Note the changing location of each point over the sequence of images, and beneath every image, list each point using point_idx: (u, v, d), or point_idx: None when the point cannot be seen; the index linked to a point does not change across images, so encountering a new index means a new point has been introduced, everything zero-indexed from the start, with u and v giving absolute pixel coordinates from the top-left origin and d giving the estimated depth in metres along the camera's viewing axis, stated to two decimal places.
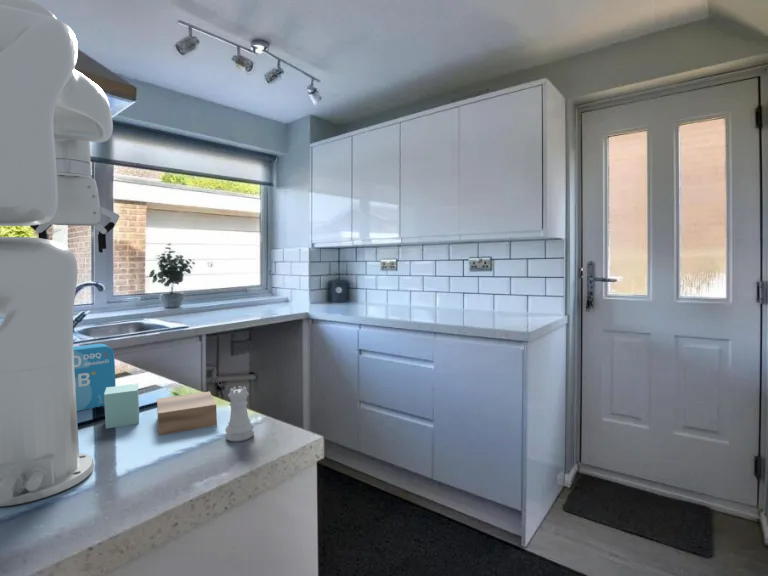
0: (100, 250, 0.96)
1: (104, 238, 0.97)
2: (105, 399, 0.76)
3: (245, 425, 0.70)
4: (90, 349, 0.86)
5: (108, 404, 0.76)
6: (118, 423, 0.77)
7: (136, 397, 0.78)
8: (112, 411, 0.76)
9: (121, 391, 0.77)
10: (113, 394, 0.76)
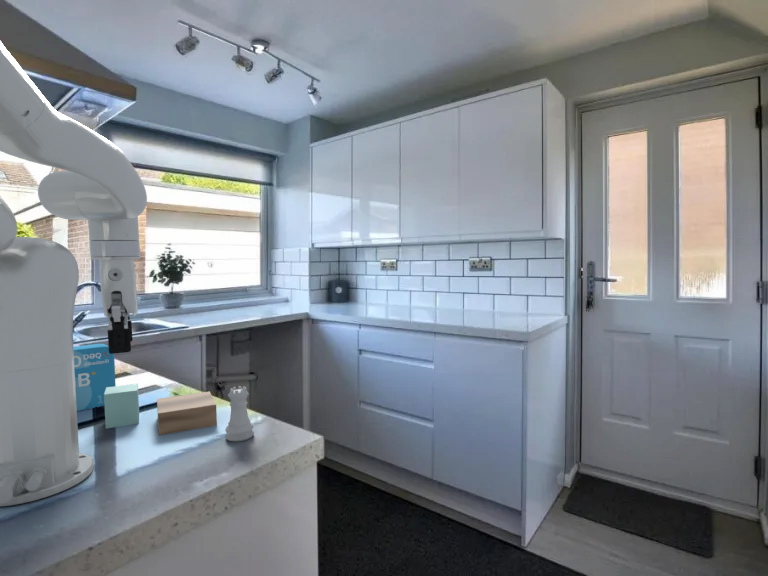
0: None
1: None
2: (105, 399, 0.76)
3: (245, 425, 0.70)
4: (90, 349, 0.86)
5: (108, 404, 0.76)
6: (118, 423, 0.77)
7: (136, 397, 0.78)
8: (112, 411, 0.76)
9: (121, 391, 0.77)
10: (113, 394, 0.76)
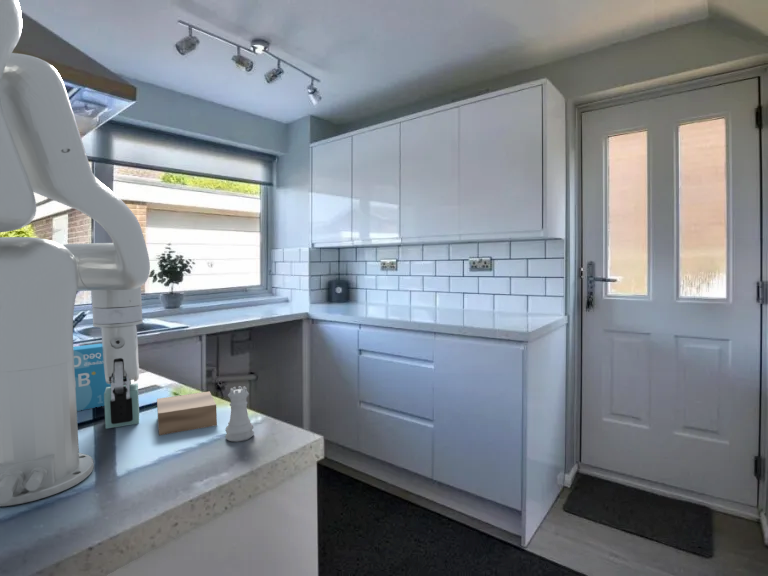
0: None
1: None
2: (105, 399, 0.76)
3: (245, 425, 0.70)
4: (90, 349, 0.86)
5: (108, 404, 0.76)
6: (118, 423, 0.77)
7: (136, 397, 0.78)
8: None
9: None
10: None
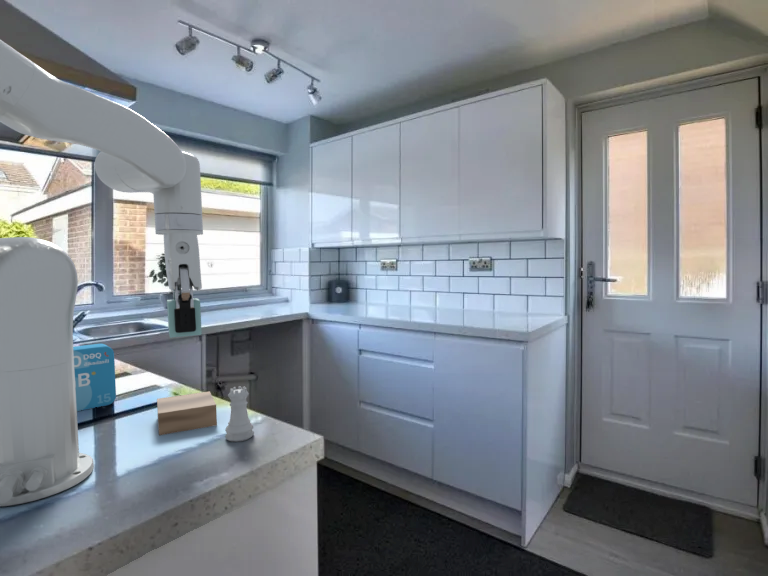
0: None
1: None
2: (169, 307, 0.74)
3: (245, 425, 0.70)
4: (90, 349, 0.86)
5: (172, 312, 0.75)
6: (182, 333, 0.76)
7: (199, 307, 0.77)
8: None
9: None
10: None
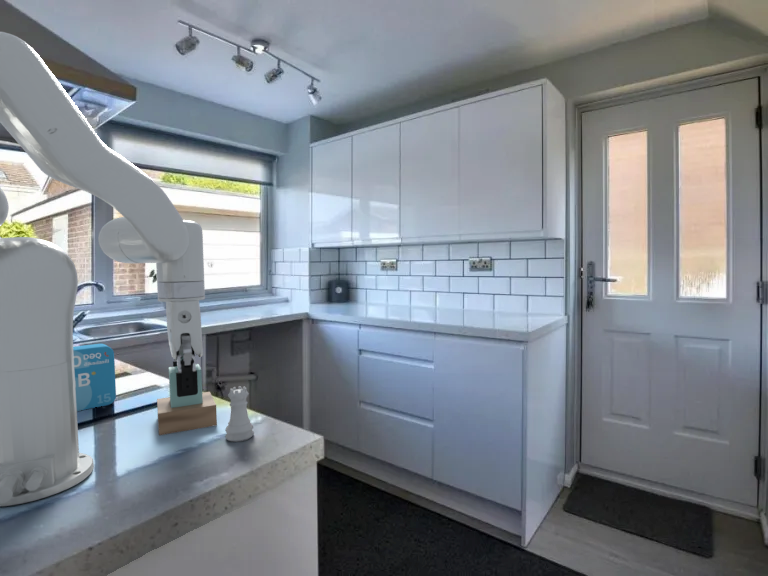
0: None
1: None
2: (171, 378, 0.75)
3: (245, 425, 0.70)
4: (90, 349, 0.86)
5: (173, 383, 0.75)
6: (183, 402, 0.76)
7: (200, 376, 0.77)
8: None
9: None
10: None
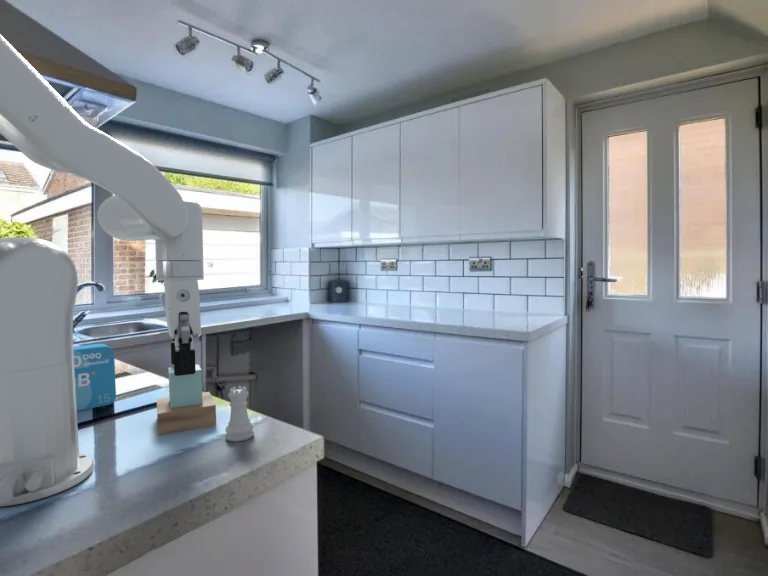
0: None
1: None
2: (171, 378, 0.75)
3: (245, 425, 0.70)
4: (90, 349, 0.86)
5: (174, 383, 0.75)
6: (183, 403, 0.76)
7: (200, 377, 0.77)
8: (177, 390, 0.75)
9: None
10: None
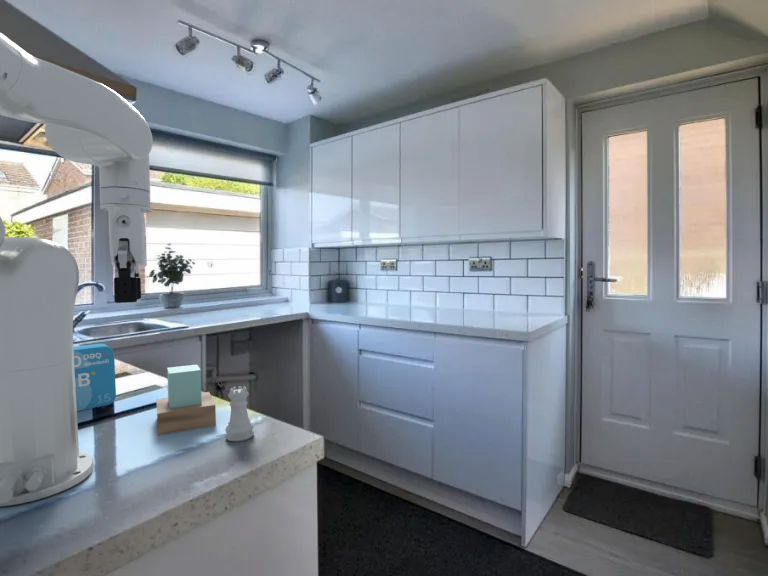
0: (140, 297, 0.82)
1: None
2: (170, 378, 0.75)
3: (245, 425, 0.70)
4: (90, 349, 0.86)
5: (173, 383, 0.75)
6: (182, 403, 0.76)
7: (199, 377, 0.77)
8: (176, 390, 0.75)
9: (185, 371, 0.77)
10: (177, 373, 0.75)
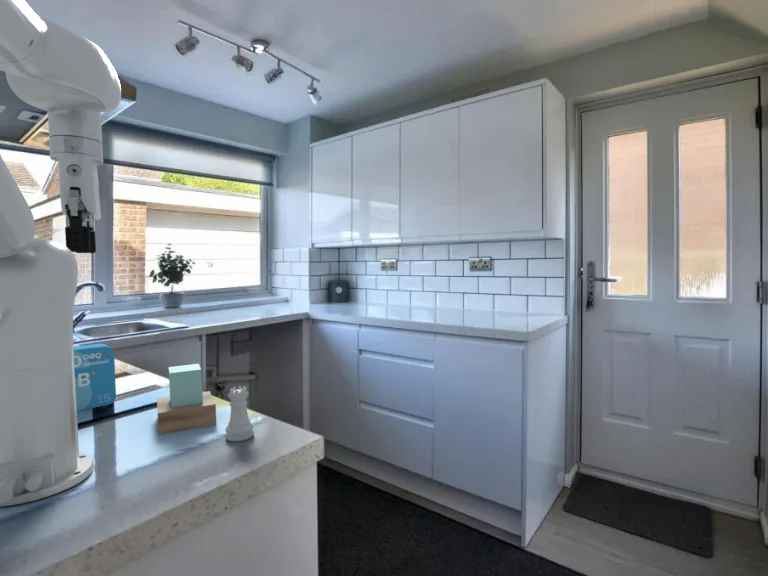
0: (95, 250, 0.82)
1: None
2: (171, 378, 0.75)
3: (245, 425, 0.70)
4: (90, 349, 0.86)
5: (174, 383, 0.75)
6: (183, 402, 0.76)
7: (200, 376, 0.77)
8: (177, 390, 0.76)
9: (185, 370, 0.77)
10: (178, 373, 0.76)
